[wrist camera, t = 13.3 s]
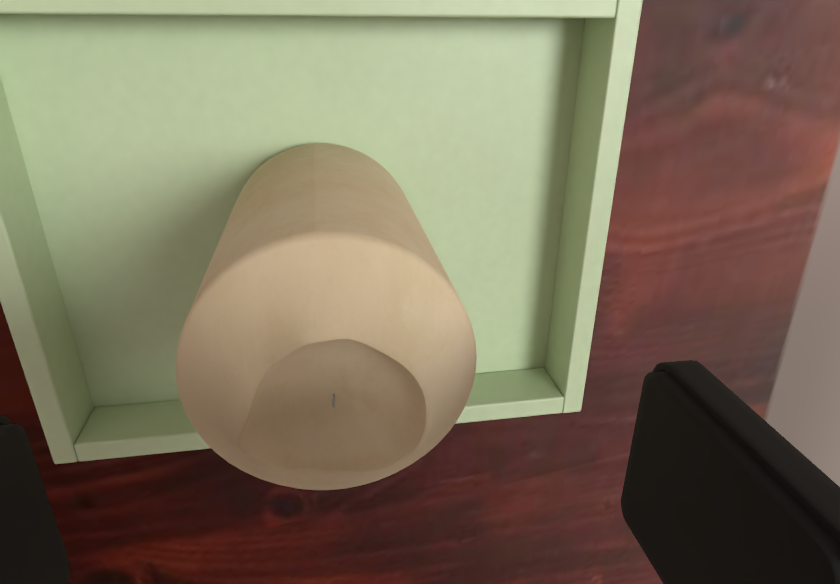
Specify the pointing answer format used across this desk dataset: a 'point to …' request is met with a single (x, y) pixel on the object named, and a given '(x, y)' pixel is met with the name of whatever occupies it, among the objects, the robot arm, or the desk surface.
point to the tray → (277, 132)
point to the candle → (324, 328)
